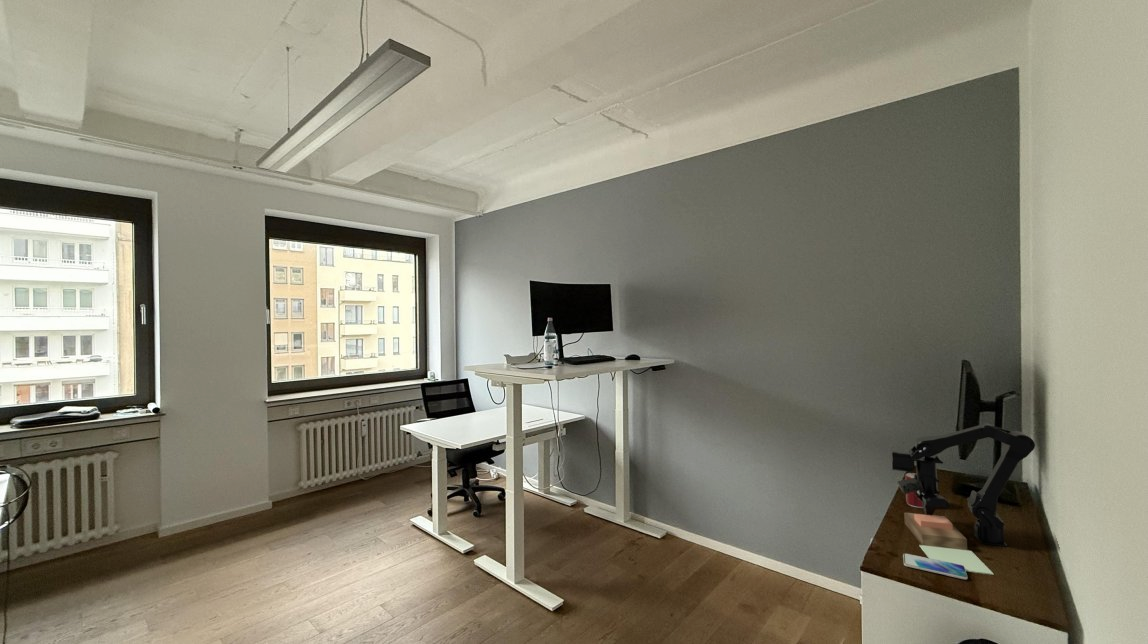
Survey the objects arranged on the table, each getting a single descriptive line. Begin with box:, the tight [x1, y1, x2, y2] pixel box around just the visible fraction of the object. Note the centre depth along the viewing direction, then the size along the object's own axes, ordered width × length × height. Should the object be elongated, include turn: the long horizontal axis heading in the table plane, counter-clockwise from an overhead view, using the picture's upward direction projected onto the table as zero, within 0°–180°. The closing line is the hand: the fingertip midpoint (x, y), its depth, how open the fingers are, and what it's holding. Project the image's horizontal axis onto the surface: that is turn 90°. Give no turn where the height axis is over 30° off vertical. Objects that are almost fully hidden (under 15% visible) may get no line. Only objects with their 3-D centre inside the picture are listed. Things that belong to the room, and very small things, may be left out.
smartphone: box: [902, 552, 968, 581], centre depth 136 cm, size 7×1×15 cm
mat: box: [919, 544, 995, 576], centre depth 141 cm, size 14×14×1 cm
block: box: [914, 513, 954, 530], centre depth 156 cm, size 9×6×2 cm, turn 70°
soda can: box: [904, 472, 924, 509], centre depth 181 cm, size 7×7×12 cm
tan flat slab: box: [903, 512, 968, 550], centre depth 156 cm, size 12×18×4 cm, turn 159°
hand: (928, 517), depth 160 cm, fingers closed
